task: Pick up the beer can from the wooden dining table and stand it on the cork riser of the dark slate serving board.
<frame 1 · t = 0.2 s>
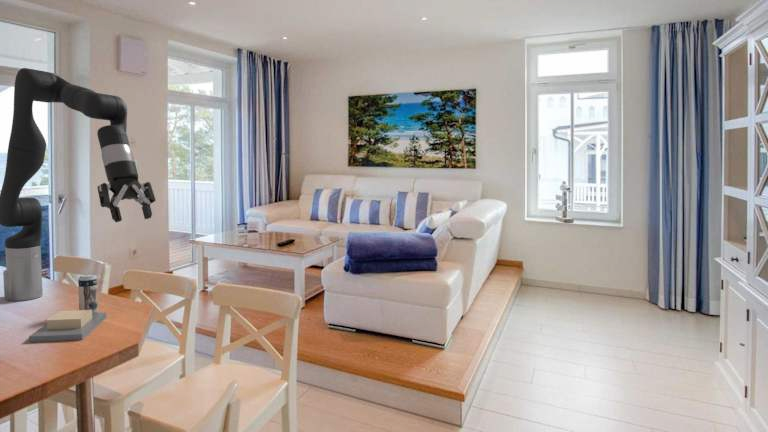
hand: (133, 219, 126), 31 cm above the table, tool tilted 20°, fingers open, 8 cm apart
beer can: (88, 314, 139), on the table
slate board: (70, 328, 127), on the table
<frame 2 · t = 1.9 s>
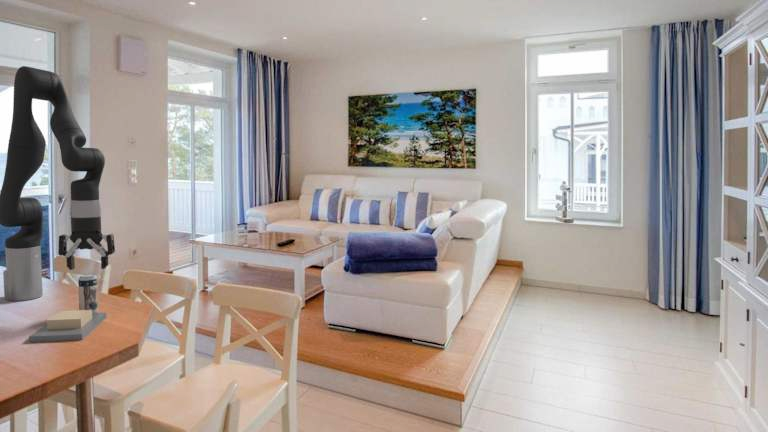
hand: (87, 268, 138), 14 cm above the table, tool pointing down, fingers open, 8 cm apart
nothing on the table moved.
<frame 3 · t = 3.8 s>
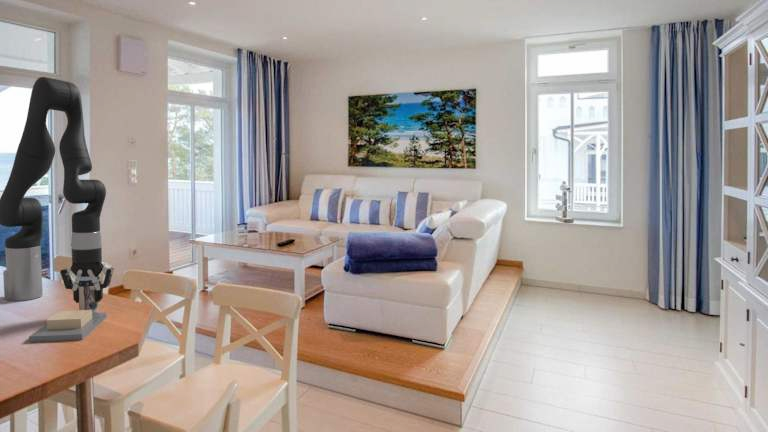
hand: (88, 301, 139), 4 cm above the table, tool pointing down, fingers closed on beer can, 4 cm apart
beer can: (88, 314, 139), on the table, touching gripper
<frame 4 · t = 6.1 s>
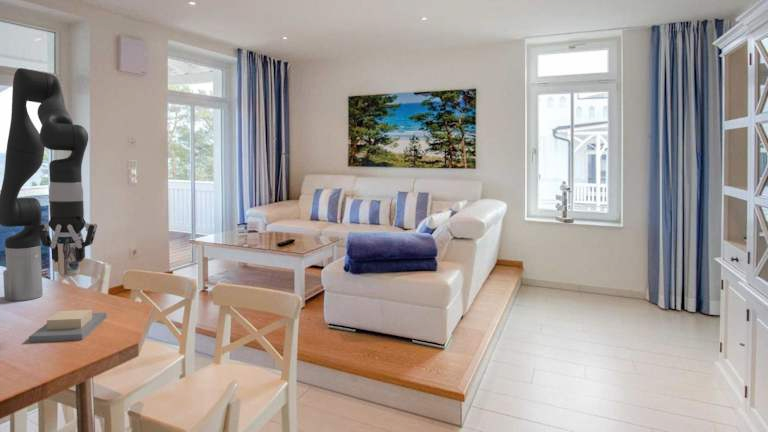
hand: (68, 261, 125), 19 cm above the table, tool pointing down, fingers closed on beer can, 4 cm apart
beer can: (69, 275, 125), point 15 cm above the table, touching gripper
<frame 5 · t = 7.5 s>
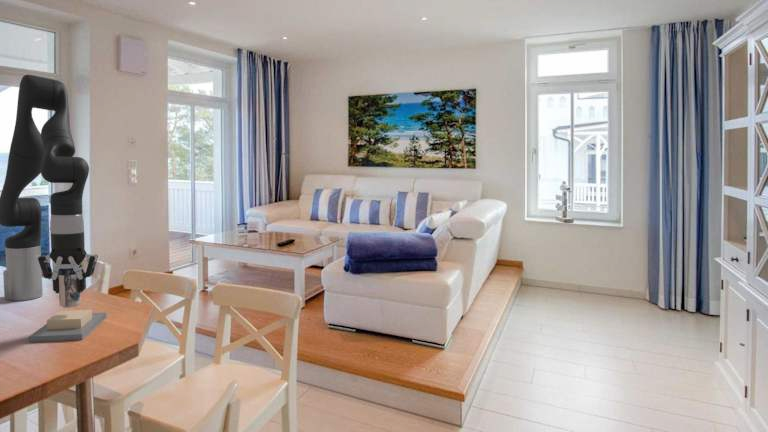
hand: (69, 292, 126), 10 cm above the table, tool pointing down, fingers closed on beer can, 4 cm apart
beer can: (70, 306, 126), point 6 cm above the table, touching gripper
when the fingers open (9 cm above the table, at t = 8.7 s): beer can stays where it is, resting on slate board.
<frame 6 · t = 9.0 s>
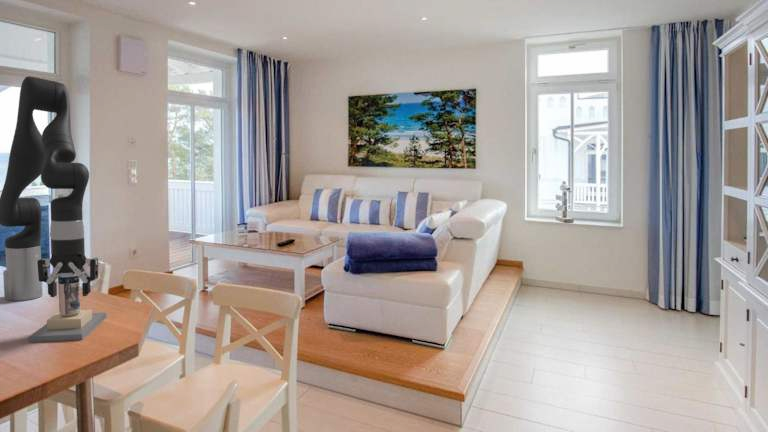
hand: (69, 295, 126), 9 cm above the table, tool pointing down, fingers open, 7 cm apart
beer can: (70, 315, 127), point 4 cm above the table, touching slate board
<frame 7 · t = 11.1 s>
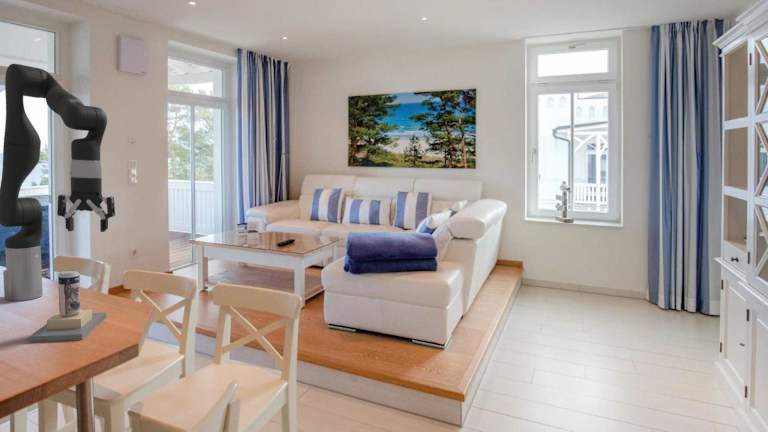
hand: (87, 231, 134), 26 cm above the table, tool pointing down, fingers open, 8 cm apart
nothing on the table moved.
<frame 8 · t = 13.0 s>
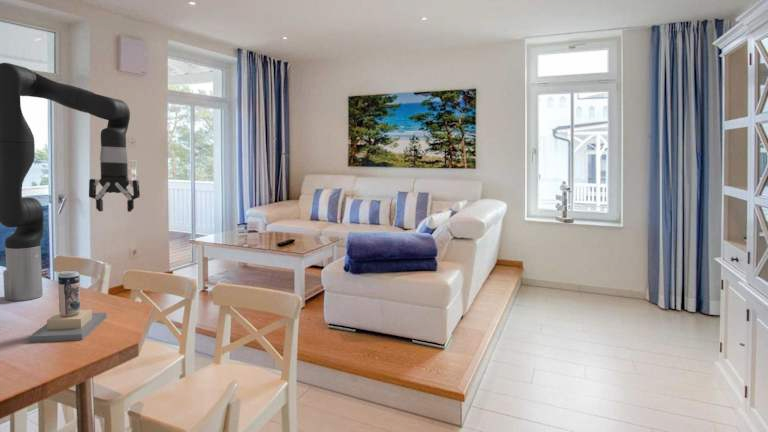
hand: (115, 211, 150), 30 cm above the table, tool pointing down, fingers open, 8 cm apart
nothing on the table moved.
at the end: beer can inside the target area on the slate board (0.1 cm from its centre), point 3.8 cm above the slate board's base; beer can tilted 0°; the gripper is holding nothing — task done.
